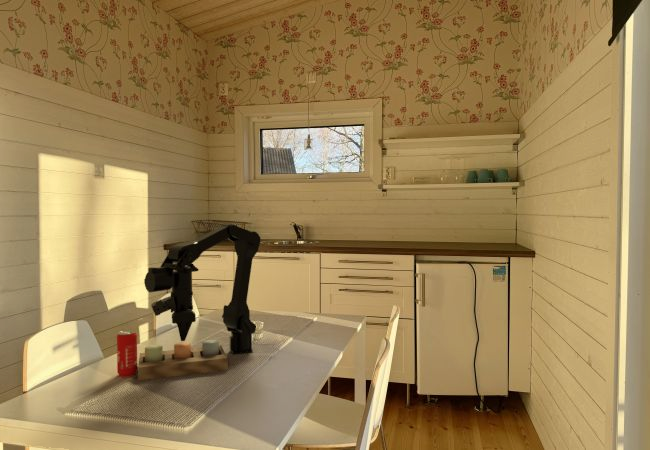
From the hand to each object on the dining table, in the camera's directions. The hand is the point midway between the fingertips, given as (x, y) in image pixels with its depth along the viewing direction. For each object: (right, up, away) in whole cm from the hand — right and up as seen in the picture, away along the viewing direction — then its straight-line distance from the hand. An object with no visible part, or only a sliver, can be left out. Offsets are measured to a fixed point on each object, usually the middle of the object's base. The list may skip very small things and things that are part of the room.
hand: (182, 340), depth 139 cm
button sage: (-8, -5, -3) cm, 10 cm away
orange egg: (0, -5, 0) cm, 5 cm away
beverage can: (-14, -8, -6) cm, 17 cm away
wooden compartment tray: (0, -8, 0) cm, 8 cm away
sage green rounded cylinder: (+8, -5, +3) cm, 9 cm away
